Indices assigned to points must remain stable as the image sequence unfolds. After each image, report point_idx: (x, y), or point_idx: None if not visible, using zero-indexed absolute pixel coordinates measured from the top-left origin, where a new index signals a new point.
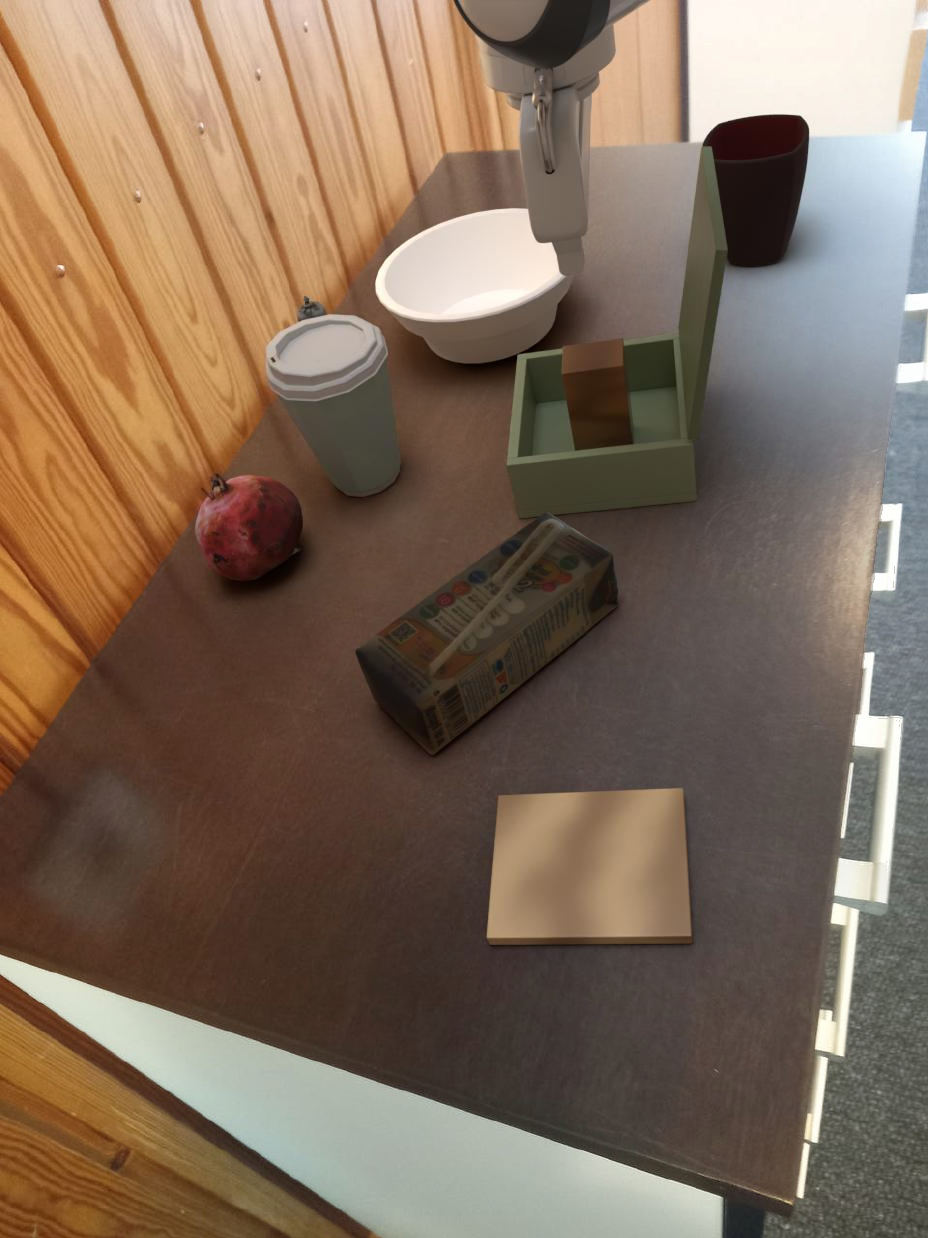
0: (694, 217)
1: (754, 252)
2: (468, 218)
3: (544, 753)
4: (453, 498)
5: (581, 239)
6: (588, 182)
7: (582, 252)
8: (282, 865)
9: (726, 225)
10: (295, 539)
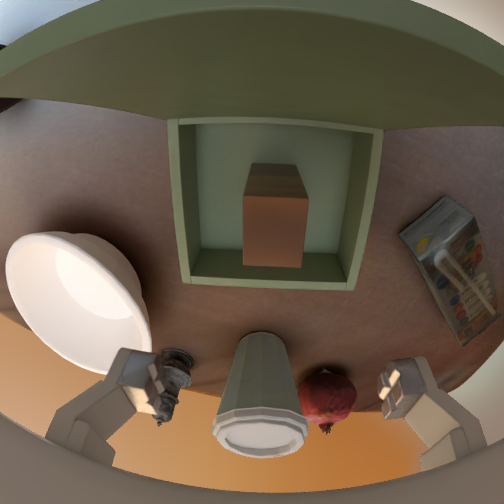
0: (102, 94)
1: None
2: (24, 315)
3: (500, 243)
4: (302, 299)
5: (449, 405)
6: (441, 497)
7: (435, 383)
8: (486, 331)
9: (6, 99)
10: (339, 379)
